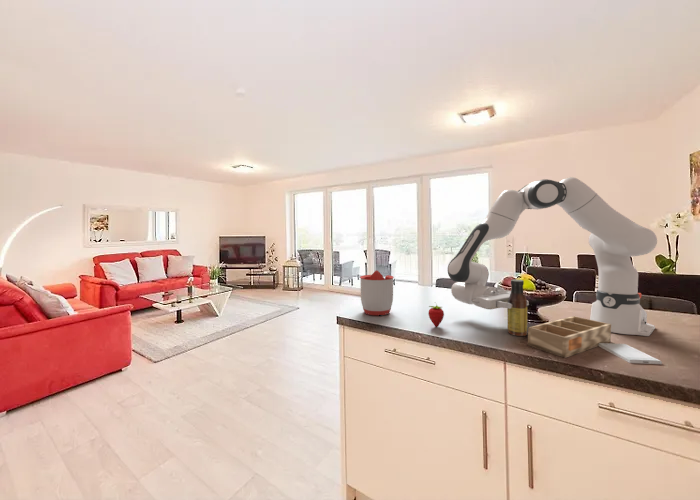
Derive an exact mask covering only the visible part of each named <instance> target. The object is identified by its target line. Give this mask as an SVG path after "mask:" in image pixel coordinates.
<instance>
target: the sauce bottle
mask: <svg viewBox="0 0 700 500" xmlns="http://www.w3.org/2000/svg"><path fill="white" fill-rule="evenodd" d="M524 284H525V281H524V280H523V279H511V280H510V286H511V287H510V289H511V290H510V291H511V294H510V296H509V299H508V303H513V308H511V309H509V308H506V309H507V333H509V334H510V335H512V336H516V337H525V336H527V335H528V305H527V300H528V299H527V297H526V295H525V294H524Z"/></svg>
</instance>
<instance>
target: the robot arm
mask: <svg viewBox="0 0 700 500" xmlns="http://www.w3.org/2000/svg"><path fill="white" fill-rule="evenodd" d="M556 205H557V206H559V207H561V208H562V209H563V211H564V212H566V214H567V215H569V216H570V218H571V219H573V221H574V222H575V223H577V224H578V225H579V227H581V228H582V229H583V230H586V231H587V232H590V234H589V237H588V244H589V247H590V248H591V249H592V250H593V253H594V257H595V261H596V264H597V265H596V266H597V269H598V270H597V271H598V272H597V273H598V277H597V278H598V280H597V282H598V285H597V290H596V292H595V296H596V297H595V299H596V300H595V301H594V302H591V303H592V304H591V309H590V317H589V319H590V320H594V321H599V322H603V323H608V324H611V333H614V334H621V335H633V336H634V335H637V336H642V337H643V336H644V337H650V336H651V335H652V333H653V331H654V330H655V329H656V326H655V325H654V324H651V323H647V321H648V314H647V313H648V312H647V311H646V310H645V309H644V308H643V307H642V305H641V304H640V303H641V298H642V297H643V296H642V295H643V294H642V293H641V292H638V288H639V271H638V270H637V268H636V267H635V266H634V265H633V262H632V259H631V257H638V256H640V257H641V256H644V255H647V254H649V253H651V252H652V251H654V250H655V248H656V247H657V243H658V238H657V235H656V233H655V232H654V231H653V230H651V229H649V228H646V227H644V226H642V225H639V224H638V223H636V222H634V221H633V220H632V219H630V218H628V217H626V216H625V215H624V214H622V213H620V212H618V211H617V210H616V209H614V208H613V207H612V206H610V205H609V204H608V203H607V202H606V201H605V200H604V199H603V198H602V197H601V196H600V195H599V194H598V193H597V192H596V191H595V190H593V189H592V188H591V187H590V186H589V185H587V184H586V183H585V182H583V181H582V180H580V179H578V178H576V177H573V176H572V177H571V176H569V177H567V178H566V177H565V178H563V179H561V180H560V181H556V180H552V179H545V178H544V179H540V180H535V181H532V182H530V183H528V184H526V185H524V186H523V187H522V188H520V189H519V190H516V189H515V190H514V189H505V190H503V191H502V192H501V193H500V194H499V195H498V196H497V198H496V200H495V201H494V202H493V204H492V206H491V207H490V209H489V211H488V214H487V215H486V217H485V218H483V219H484V220H482V221H481V223H478V224H477V225H476V226H474V228H473V230H472V231H471V233H470V234H468V235H469V236H468V237H467V238H466V240H465V241H464V243H463V245H462V246H461V247H460V249H459V251H458V252H457V254H456V255H455V256H454V257H453V258H452V259H451V260H450V261H449V263H448V265H447V273H448V276H449V278H450V280H451V281H452V282H454V283H453V284H452V285H451V288H450V291H451V295H452V297H453V298H454V299H455V300H457V301H459V302H461V303H464V304H467V305H473V306H476V307H479V308H481V309H484V310H497V309H502V308H503V309H508V308H509V309H511V308H513V303H508V299H509V296H510V294H511V290H508V289H506V290H505V289H504V288H503V287H493V286H487V283H488V280H489V275H490V273H489V269H488V267H487V266H486V265H485V264H482V263H480V262H475V261H472V260H473V259H474V257H475V256H476V254H477V253H478V251H479V249H480V248H481V247H482V246H483V245H484V243H486V242H488V241H491V240H497V239H502V238H505V237H507V236H509V235H510V234H511V232H512V231H513V230H514V228H515V226H516V224H517V223H518V221H519V218H520V216H521V215H522V213H523V212H524V211H525V210H542V209H548V208H552V207H554V206H556ZM527 306H529V300H528V299H527Z"/></svg>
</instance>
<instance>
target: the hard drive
mask: <svg viewBox="0 0 700 500" xmlns="http://www.w3.org/2000/svg"><path fill="white" fill-rule="evenodd" d="M598 347H600V348H601V349H602V350H605V351H606V352H608V353H610V354H612V355H614V356H616V357H618V358H620V359H621V360H623V361H626V362H627V363H629V364H645V365H646V364H650V365H652V364H653V365H663V361H662V360H660V359H658V358H656V357H653V356H651V355H649V354H647V353H645V352H644V351H641V350H639V349H637V348H636V347H632V346H630V345H628V344H627V343H611V342H608V343H599V346H598Z"/></svg>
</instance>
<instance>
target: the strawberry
mask: <svg viewBox="0 0 700 500" xmlns="http://www.w3.org/2000/svg"><path fill="white" fill-rule="evenodd" d="M428 307H429V308H430V309H429V310H428V318H429V319H430V322H431V323H432V324H433V325H434V327H436V328H438V327H439V325H440V324H441V323H442V321H443V319H444V316H445V312H444V310H443V309H442V308H443V307H442V306H438V304H437V303H435V305H429V306H428Z"/></svg>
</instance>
